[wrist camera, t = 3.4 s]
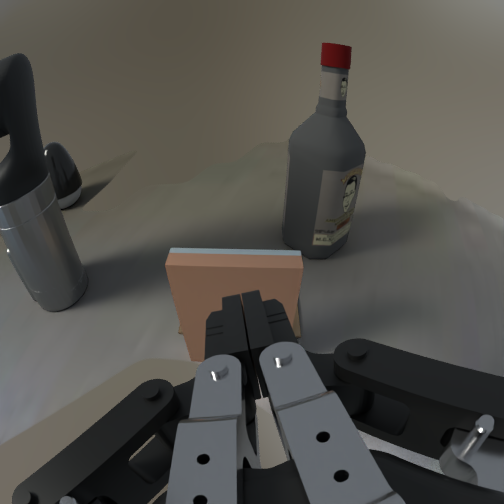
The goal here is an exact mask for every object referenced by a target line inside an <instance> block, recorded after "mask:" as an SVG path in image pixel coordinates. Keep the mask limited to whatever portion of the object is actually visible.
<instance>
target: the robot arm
mask: <svg viewBox="0 0 504 504" xmlns="http://www.w3.org/2000/svg"><path fill="white" fill-rule="evenodd" d="M8 134H10V145H11V146H10V150H9V152H8V154H7V155H6V157H5V158H4V159H3V161H2V162H1V163H0V233H1V236H2V238H3V240H4V242H5V244H6V246H7V248H8V250H7V254H8V256H9V258H10V260H11V262H12V264H13V266H14V268H15V269H16V271H17V273H18V275H19V276H20V278H21V280H22V282H23V283H24V285H25V287H26V288H27V290H28V292H29V293H30V295H31V297H32V298H33V300H35V301H37V302H38V303H39V305H40V306H41V307H42V308H43V309H45V310H47V311H59V310H63V309H65V308H68V307H69V306H71V305H72V304H74V303H75V302H76V301H77V300H78V299H79V298H80V297H81V296H82V295H83V293H84V291H85V290H86V287H87V283H88V279H87V275H86V273H85V271H84V268H83V266H82V264H81V261H80V259H79V256H78V254H77V251H76V249H75V246H74V244H73V241H72V239H71V236H70V234H69V231H68V228H67V226H66V223H65V220H64V217H63V215H62V212H61V209H60V206H59V203H58V200H57V197H56V194H55V191H54V187H53V184H52V181H51V177H50V174H49V170H48V167H47V163H46V159H45V154H44V149H43V145H42V140H41V135H40V130H39V124H38V117H37V109H36V99H35V88H34V79H33V72H32V68H31V64H30V62H29V60H28V58H27V57H26V56H25V55H24V54H19V53H18V54H14V55H11V56H9V57H7V58H4V59H2V60H0V138H1V137H3V136H6V135H8ZM241 295H242V300H241V296H240V294H236V295H231V296H226V297H222V310H219V311H214V312H211V313H210V315H209V316H208V318H207V319H206V331H205V336H206V337H205V356H204V361H203V362H202V363H201V364H200V365H199V367H198V368H197V371H196V376H195V378H193V379H191V380H190V381H188V382H185V383H183V384H180V385H178V386H175V387H173V386H172V385H171V383H170V382H168V381H166V380H163V379H153V380H149V381H147V382H144V383H142V384H141V385H140V386H138V387H137V388H136V389H135V390H134V391H132V392H131V393H130V394H129V395H128V396H127V397H125V398H124V399H123V400H122V401H121V402H120V403H119V404H117V405H116V406H115V407H114V408H113V409H111V410H110V411H109V412H108V413H107V414H106V415H104V416H103V417H102V418H101V419H100V420H98V421H97V422H96V423H95V424H94V425H92V426H91V427H90V428H89V429H88V430H87V431H85V432H84V433H83V434H82V435H80V436H79V437H78V438H77V439H76V440H75V441H73V442H72V443H71V444H69V446H67V447H66V448H65V449H63V450H62V451H61V452H60V453H58V454H57V455H56V456H55V457H54V458H52V459H51V460H50V461H49V462H47V463H46V464H45V465H44V466H42V467H41V468H40V469H39V470H37V471H36V472H35V473H33V474H32V475H31V476H30V477H29V478H27V479H26V480H25V481H23V482H22V483H21V484H19V485H18V486H17V487H16V489H15V490H14V493H13V496H12V504H147V503H148V502H149V501H150V500H151V499H152V498H154V496H155V495H156V494H158V493H159V492H160V491H161V490H162V489H163V488H164V487H165V486H166V484H167V483H168V482H169V483H168V490H167V491H166V492H164V493H163V494H162V495H161V496H159V497H158V498H157V499H156V500H155V501H154V502H153V504H504V377H501V376H497V375H492V374H488V373H484V372H480V371H476V370H472V369H468V368H464V367H460V366H456V365H453V364H449V363H445V362H441V361H438V360H434V359H431V358H427V357H423V356H420V355H416V354H413V353H410V352H406V351H403V350H399V349H396V348H393V347H389V346H386V345H383V344H379V343H376V342H373V341H370V340H366V339H350V340H347V341H345V342H343V343H341V344H339V345H338V346H337V347H336V349H335V351H334V354H315V353H310V352H308V351H306V350H304V348H303V347H302V346H300V345H299V344H298V342H297V339H296V337H295V334H294V331H293V329H292V326H291V324H290V321H289V320H288V316H287V314H286V311H285V309H284V306H283V304H282V303H280V302H279V301H278V300H276V299H270V300H266V301H262V298H261V295H260V291H259V290H254V291H250V292H245V293H241ZM242 301H243V304H242ZM243 307H244V308H243ZM257 376H258V378H257ZM258 380H259V383H258ZM259 384H260V388H261V391H262V395H263V398H265V397H268V398H269V402H270V406H271V410H272V414H273V417H274V420H275V423H276V427H277V430H278V432H279V436H280V439H281V442H282V445H283V447H284V451H285V454H286V457H287V460H288V461H286V462H284V463H282V464H280V465H277V466H275V467H273V468H268V469H262V468H261V464H260V455H259V454H260V453H259V438H258V422H257V415H256V403H255V400H256V399H261V394H260V388H259ZM357 429H358V430H360V431H362V432H365V433H367V434H369V435H372V436H374V437H377V438H379V439H382V440H384V441H387V442H389V443H392V444H394V445H397V446H400V447H402V448H405V449H408V450H410V451H413V452H416V453H419V454H422V455H425V456H428V457H431V458H434V459H437V460H439V464H440V468H441V470H442V472H443V473H444V475H443V474H440V473H437V472H434V471H432V470H429V469H426V468H424V467H421V466H418V465H416V464H413V463H411V462H408V461H406V460H404V459H401V458H399V457H396V456H394V455H392V454H389V453H386V452H382V451H377V450H372V449H368V448H367V446H366V444H365V443H364V441H363V439H362V437H361V436H360V434H359V432H358V430H357ZM152 435H155V437H154V438H153V439H152V440H151V441H150V442H149V443H148V444H147V445H146V446H145V447H144V448H143V449H142V450H141V451H140V452H139V453H138V454H136V456H134V457H133V458H132V459H131V460H130V461H129V458H130V457H131V455H133V454H134V453H135V452H136V451H137V450H138V449H139V448H140V447H141V446H142V445H143V444H144V443H145V442H146V441H147V440H148V439H149V438H150V437H152Z"/></svg>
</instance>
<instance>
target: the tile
mask: <svg viewBox="0 0 504 504" xmlns="http://www.w3.org/2000/svg"><path fill="white" fill-rule="evenodd" d="M165 268H166V272H167V276H168V280H169V284H170V288H171V292H172V295H173V299H174V303H175V307H176V310H177V314H178V318H179V321H180V325H181V328H182V332H183V335H184V338H185V342H186V345H187V348H188V351H189V355H190V358H191V361H198V362H203V361H204V356H205V337H206V336H205V331H206V319H207V318H208V316H209V315H210V313H211V312H214V311H219V310H222V297H226V296H231V295H236V294H240V296H241V300H242V295H241V293H245V292H250V291H254V290H259V291H260V295H261V298H262V301H266V300H270V299H276V300H278V301H279V302H280V303H282V304H283V306H284V309H285V311H286V314H287V316H288V320H289V321H290V324H291V326H292V327H293V322H294V317H295V312H296V307H297V301H298V296H299V291H300V285H301V280H302V274H303V269H304V268H303V262H302V256H301V251H298V250H253V249H205V248H171V249H170V252H169V255H168V258H167V260H166V263H165ZM242 304H243V301H242ZM243 308H244V307H243Z"/></svg>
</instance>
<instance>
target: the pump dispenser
mask: <svg viewBox="0 0 504 504" xmlns="http://www.w3.org/2000/svg"><path fill="white" fill-rule="evenodd" d="M44 154H45V159H46V163H47V167H48V170H49V174H50V177H51V181H52V184H53V187H54V191H55V194H56V197H57V200H58V203H59V206H60V209H64V208H67V207H69V206H71V205H72V204H74V203H75V202H76V201H77V200H78V198H79V196H80V194H81V185H82V180H81V176H80V174H79V171H78V169H77V167H76V165H75V163H74V161H73V159H72V158H71V156H70V154H69V153H68V151H67V150H66V149H65V148H64V147H63V146H62V145H61V144H60V143H58V142H51V143H49V144H47V145H46V146H45V147H44Z"/></svg>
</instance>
